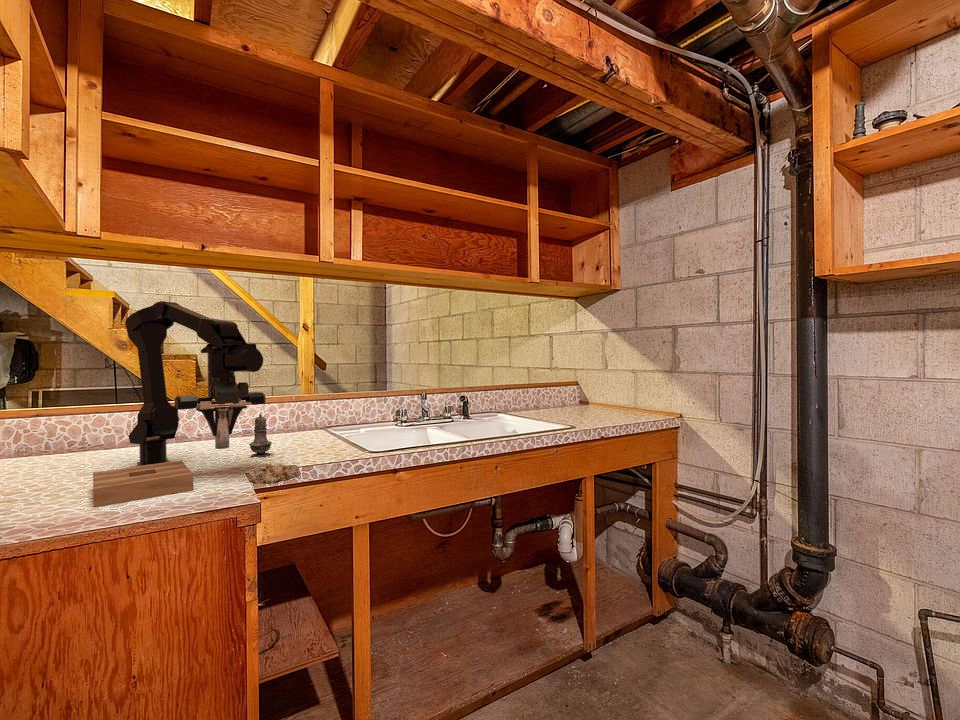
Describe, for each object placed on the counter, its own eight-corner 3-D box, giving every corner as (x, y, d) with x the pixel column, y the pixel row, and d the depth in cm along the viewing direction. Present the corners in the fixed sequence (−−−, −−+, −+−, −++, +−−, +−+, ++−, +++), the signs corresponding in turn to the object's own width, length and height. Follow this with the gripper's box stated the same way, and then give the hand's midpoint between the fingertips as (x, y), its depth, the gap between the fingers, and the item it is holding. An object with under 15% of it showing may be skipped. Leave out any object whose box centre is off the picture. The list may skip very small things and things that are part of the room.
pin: (211, 447, 110) (210, 407, 110) (229, 445, 113) (229, 405, 112) (214, 450, 107) (214, 408, 107) (233, 447, 110) (232, 407, 109)
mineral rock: (255, 477, 97) (246, 461, 103) (253, 495, 98) (245, 478, 104) (305, 470, 104) (295, 455, 110) (303, 487, 105) (293, 471, 111)
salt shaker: (276, 455, 128) (275, 413, 128) (256, 459, 123) (256, 415, 123) (264, 452, 131) (264, 411, 131) (244, 456, 126) (244, 414, 126)
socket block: (93, 488, 96) (92, 472, 96) (181, 474, 107) (181, 460, 107) (93, 507, 84) (93, 488, 84) (193, 490, 95) (193, 473, 95)
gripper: (180, 374, 97) (182, 445, 98) (271, 371, 110) (272, 435, 110) (173, 372, 106) (174, 438, 106) (258, 370, 118) (259, 429, 118)
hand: (222, 435), depth 110 cm, fingers closed on pin, 3 cm apart
